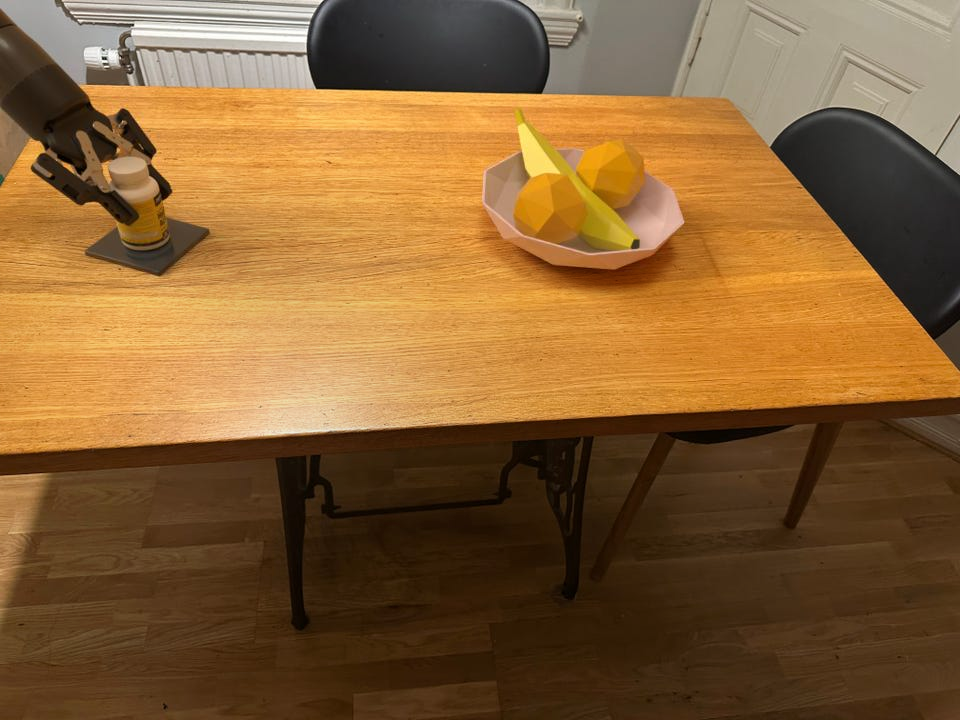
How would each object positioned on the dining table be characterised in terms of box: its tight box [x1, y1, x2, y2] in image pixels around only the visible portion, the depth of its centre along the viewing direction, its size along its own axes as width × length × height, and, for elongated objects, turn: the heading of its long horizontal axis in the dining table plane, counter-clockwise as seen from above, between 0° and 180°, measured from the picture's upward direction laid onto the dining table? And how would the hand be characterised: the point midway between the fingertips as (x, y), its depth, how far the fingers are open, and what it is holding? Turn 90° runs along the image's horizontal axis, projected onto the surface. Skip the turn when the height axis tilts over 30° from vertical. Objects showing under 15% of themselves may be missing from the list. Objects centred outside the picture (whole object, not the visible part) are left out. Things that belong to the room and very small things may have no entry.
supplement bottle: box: [107, 157, 170, 250], centre depth 80 cm, size 5×5×10 cm
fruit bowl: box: [481, 108, 685, 271], centre depth 91 cm, size 28×27×11 cm
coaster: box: [83, 216, 211, 277], centre depth 84 cm, size 10×10×1 cm
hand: (151, 208), depth 80 cm, fingers closed on supplement bottle, 5 cm apart
